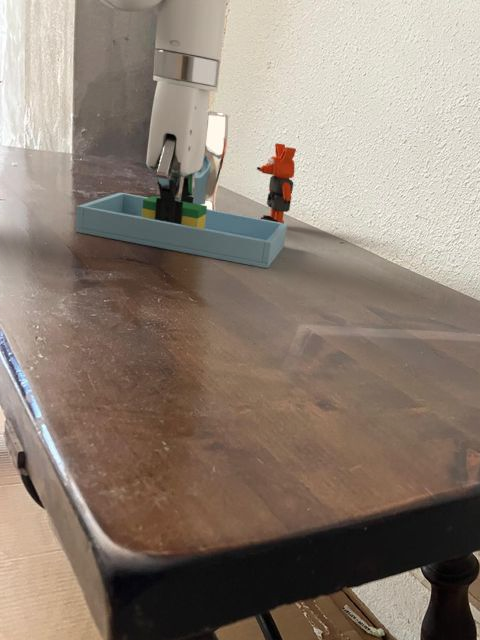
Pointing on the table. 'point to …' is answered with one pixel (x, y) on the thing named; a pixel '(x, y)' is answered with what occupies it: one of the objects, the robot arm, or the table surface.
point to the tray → (184, 231)
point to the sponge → (190, 215)
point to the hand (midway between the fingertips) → (172, 228)
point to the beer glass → (212, 160)
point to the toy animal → (279, 182)
